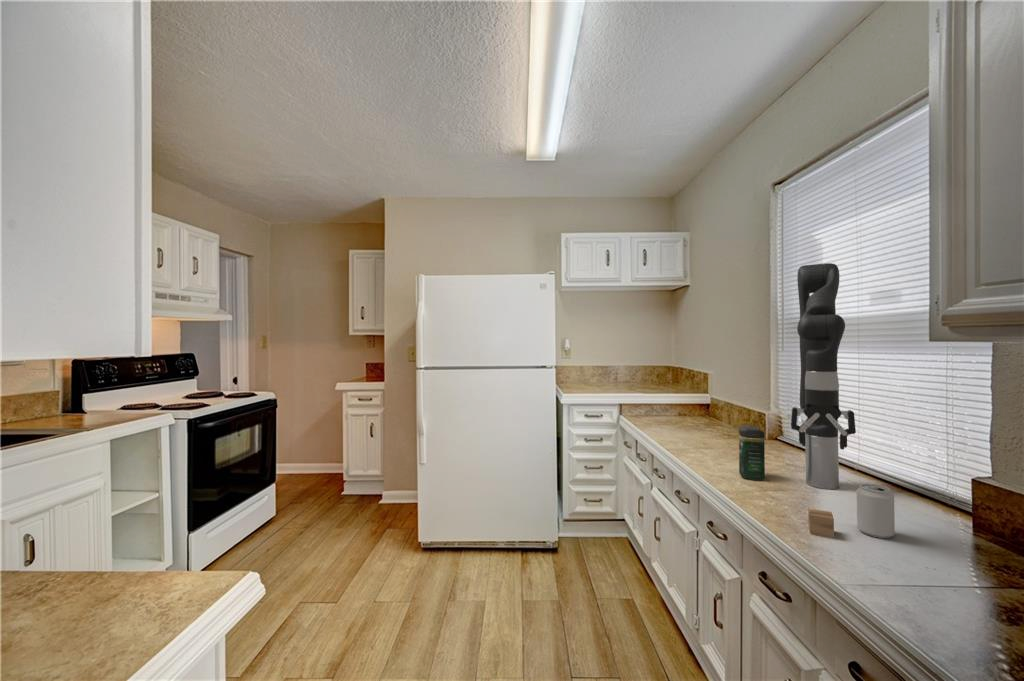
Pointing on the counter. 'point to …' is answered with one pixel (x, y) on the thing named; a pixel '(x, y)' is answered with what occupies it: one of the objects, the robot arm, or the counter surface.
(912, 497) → the counter surface
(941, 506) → the counter surface
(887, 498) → the can
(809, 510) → the block
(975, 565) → the counter surface
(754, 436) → the coffee jar
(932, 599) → the counter surface
